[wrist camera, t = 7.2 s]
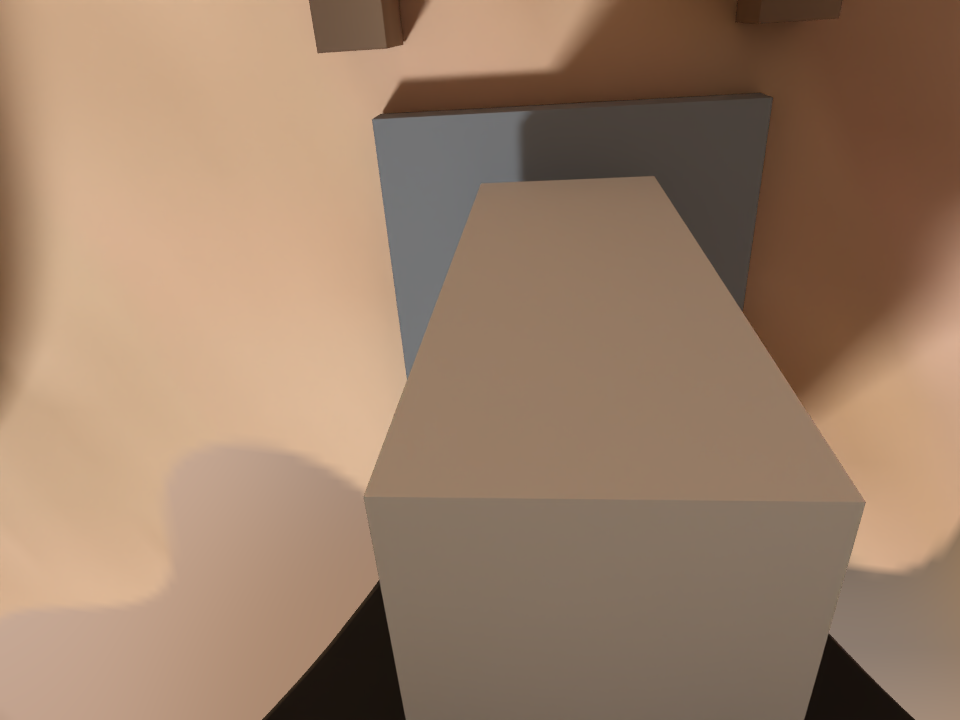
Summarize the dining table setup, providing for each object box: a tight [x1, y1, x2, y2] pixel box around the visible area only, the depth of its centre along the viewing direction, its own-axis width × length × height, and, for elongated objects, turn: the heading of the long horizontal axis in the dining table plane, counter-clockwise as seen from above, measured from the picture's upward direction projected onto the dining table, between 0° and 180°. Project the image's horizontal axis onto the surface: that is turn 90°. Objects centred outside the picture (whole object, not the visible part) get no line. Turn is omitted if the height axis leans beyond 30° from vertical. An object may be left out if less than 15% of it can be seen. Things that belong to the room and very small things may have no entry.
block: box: [364, 176, 866, 720], centre depth 8 cm, size 2×9×7 cm, turn 4°
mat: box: [372, 93, 773, 379], centre depth 13 cm, size 6×11×1 cm, turn 4°
